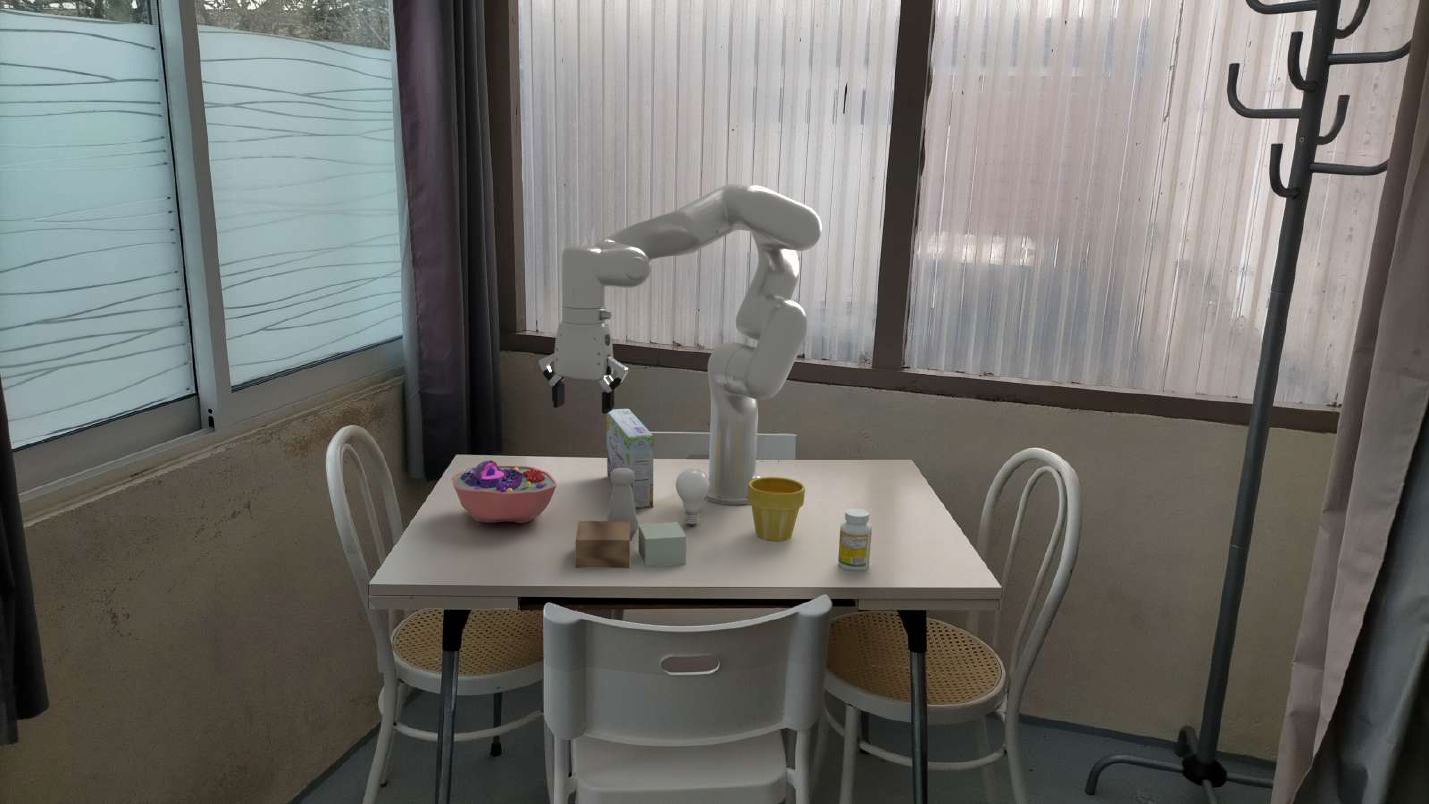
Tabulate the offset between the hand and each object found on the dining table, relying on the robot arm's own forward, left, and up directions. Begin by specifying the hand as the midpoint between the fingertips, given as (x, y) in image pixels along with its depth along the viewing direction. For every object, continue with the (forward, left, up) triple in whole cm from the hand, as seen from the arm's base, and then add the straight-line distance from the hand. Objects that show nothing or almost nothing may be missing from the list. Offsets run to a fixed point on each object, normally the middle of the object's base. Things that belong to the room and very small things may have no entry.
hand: (582, 409), depth 187 cm
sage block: (-14, +16, -22) cm, 31 cm away
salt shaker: (-7, +7, -22) cm, 25 cm away
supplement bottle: (-47, +19, -22) cm, 56 cm away
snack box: (-8, -19, -22) cm, 30 cm away
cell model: (+15, -2, -22) cm, 27 cm away
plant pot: (-35, +5, -22) cm, 42 cm away
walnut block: (-4, +16, -22) cm, 28 cm away
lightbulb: (-20, 0, -22) cm, 30 cm away
